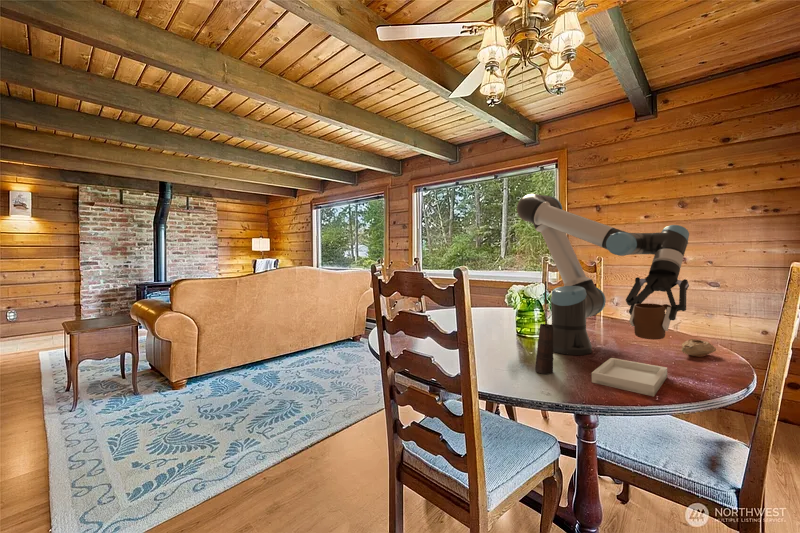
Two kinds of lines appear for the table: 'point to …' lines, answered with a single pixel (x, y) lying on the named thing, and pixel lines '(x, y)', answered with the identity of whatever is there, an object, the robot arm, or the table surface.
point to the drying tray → (630, 376)
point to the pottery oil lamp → (697, 347)
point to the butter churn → (545, 345)
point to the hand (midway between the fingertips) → (647, 325)
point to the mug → (649, 320)
